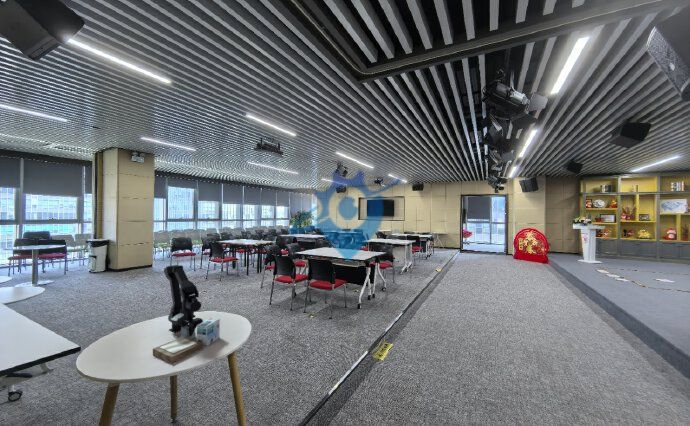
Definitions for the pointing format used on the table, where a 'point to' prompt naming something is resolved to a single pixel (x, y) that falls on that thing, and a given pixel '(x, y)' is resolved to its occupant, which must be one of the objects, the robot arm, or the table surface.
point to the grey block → (186, 332)
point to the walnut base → (177, 349)
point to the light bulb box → (208, 331)
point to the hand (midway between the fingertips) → (187, 334)
